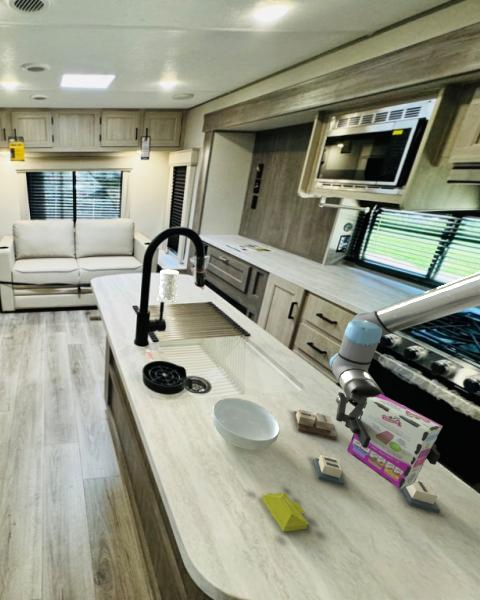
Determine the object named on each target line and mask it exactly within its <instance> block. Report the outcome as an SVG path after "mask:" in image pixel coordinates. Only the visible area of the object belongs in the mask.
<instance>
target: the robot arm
mask: <svg viewBox="0 0 480 600" xmlns="http://www.w3.org/2000/svg"><path fill="white" fill-rule="evenodd" d="M479 306H480V271H479V272H476V273H474V274H471V275H469V276H465V277H462V278H459V279H457V280H454V281H452V282H450V283H446V284H444V285H441V286H438V287H435V288H433V289H430V290H427V291H425V292H422V293H419V294H417V295H414V296H412V297H409V298H406V299H403V300H401V301H400V300H399V301H398V302H395V303H392V304H390V305H387V306H384V307H382V308H379V309H377V310H373V311H371V312H367V311H365V312H359V313H357V314H356V315H354V317H353V318H351V320H350V321H349V322H348V323H347V326H346V328H345V330H344V334H343V337H342V340H341V344H340V347H339V351H338V352H337V353H334V355H332V356H331V357H330V359H329V366H330V369H331V372H332V374H333V375H334V377H335V378H336V380H337V381H338V383H339V385H340V387H341V389H342V390H343V392H340V391H339V392H338V393H337V396H336V399H335V401H336V403H337V411H336V415H335V420H336V421H337V422H339V423H342V422H344V427H346V428H347V429H349V430H350V431H351V433H352V434H354V433H356V435H357V437H358V439H359V441H360V443H361V445H362V447H364V448H367V447H368V445H369V442H370V440H371V438H370V436H369V434H368V433H367V431H366V429H365V427H364V425H363V424H362V422H361V420H360V419H359V418H360V416H361V413H362V410H363V408H364V405H365V402H366V400H367V398H369V397H374V396H377V395H380V394H382V395H383V396H385V394H384V392H383V391H382V389H381V388H380V386H379V385H378V384H377V382H376V381H375V380H374V378H373V377H372V375H371V374H370V373H369V368H370V366H371V363H372V360H373V358H374V355H375V352H376V350H377V348H378V346H379V343H380V341H381V338H382V337H383V336H386V335H389V334H393V333H396V332H398V331H402V330H405V329H409V328H412V327H415V326H418V325H421V324H424V323H428V322H430V321H435V320H437V319H441V318H444V317H447V316H450V315H453V314H456V313H460V312H463V311H466V310H470V309H473V308H476V307H479ZM348 403H349V404H350V405H352V406H353V407H354V408H353V409H352V410H351V411H350V413H349V414H347V413H346V410H347V404H348ZM402 405H403V406H405V407H407V406H406V405H404V404H402ZM440 457H441V454H440V452H439V451H438V450H437V445H436V444H435V443H434V445H433V447H432V448H431V450H430V452H429V454H428V456H427V458H426V461H428V463H429V464H430V465H434V466H436V464H437V463H438V461H439V458H440Z"/></svg>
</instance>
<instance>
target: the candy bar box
mask: <svg viewBox="0 0 480 600" xmlns="http://www.w3.org/2000/svg"><path fill="white" fill-rule="evenodd" d="M403 405H404V404H401V403H399V402H397V401H395V400H393V399H391V398H389V397H387V396H386V395H384V396H383V395H382V394H380V395H377V396H374V397H369V398H367V400H366V402H365V405H364V408H363V410H362V413H361V416H359V418H358V419H360V420H361V422H362V424H363V425H364V427H365V429H366V431H367V433H368V434H369V436H370V438H371V440H370V442H369V445H368V447H367V448H364V447H362V445H361V443H360V441H359V439H358V437H357V435H356V433H352V436H351V439H350V441H349V444H348V447H347V449H346V452H347V453H348V454H350V455H351V456H352V457H354V458H355V459H357V460H358V461H360V462H361V463H362V464H364V466H367V467H368V468H369V469H371V470H372V471H373V472H375V473H376V474H377V475H379V476H380V477H382V479H385V480H386V481H388V482H389V483H390V484H391V485H393V486H394V487H396V488H397V489H398V490H401V489H402V488H404V487H406V486H409V485H412V484H414V482H415V480H417V478H418V476H419V474H420V472H421V470H422V468H423V466H424V464H425V462H426V461H427V456H428V454H429V452H430V450H431V448H432V447H433V445H434V444H435V443H436V441H437V439H438V437H439V434H440V433H441V431H442V429H443V427H444V426H443V425H441V424H440V423H437V422H436V421H434V420H433V419H430V418H428V417H426V416H424V415H423V414H421V413H418V412H416V411H414V410H413V409H411V408H409V407H407V406H406V405H404V406H403ZM405 406H406V407H405Z"/></svg>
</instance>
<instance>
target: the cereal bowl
mask: <svg viewBox="0 0 480 600" xmlns="http://www.w3.org/2000/svg"><path fill="white" fill-rule="evenodd" d="M211 410H212V412H211V420H212V424H213V426H214V429H215V430H216V432H217V433H218V434H219V435H220V436H221V437H222V438H223V439H224V440H225V441H226V442H228V443H230V444H232V445H233V446H235V447H237V448H240V449H243V450H247V451H261V450H266V449H268V448H270V447H271V446H273V445H274V444H275V442H276V441H277V440H278V438H279V435H280V432H281V429H280V428H281V427H280V423H279V421H278V419H277V418H276V416H275V415H274V414H273V413H272V412H270V411H269V410H268V409H267V408H266V407H264V406H262V405H260V404H259V403H257V402H254V401H251V400H248V399H244V398H240V397H226V398H221V399H219V400H217V401H216V402H214V405H213V406H212V409H211Z"/></svg>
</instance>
